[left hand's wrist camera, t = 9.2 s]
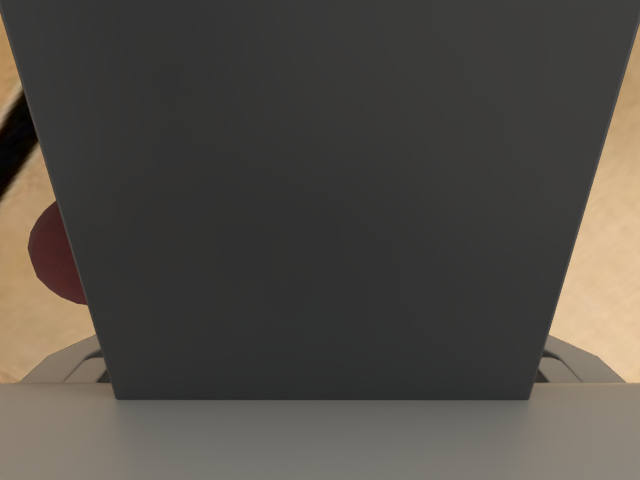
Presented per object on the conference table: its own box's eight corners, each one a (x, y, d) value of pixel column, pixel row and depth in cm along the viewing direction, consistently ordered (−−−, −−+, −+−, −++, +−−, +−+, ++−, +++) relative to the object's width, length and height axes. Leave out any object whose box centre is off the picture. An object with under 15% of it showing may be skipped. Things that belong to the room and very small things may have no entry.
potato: (185, 192, 24) (134, 224, 18) (173, 285, 27) (125, 342, 20) (78, 165, 23) (-16, 188, 17) (77, 263, 26) (-4, 315, 20)
